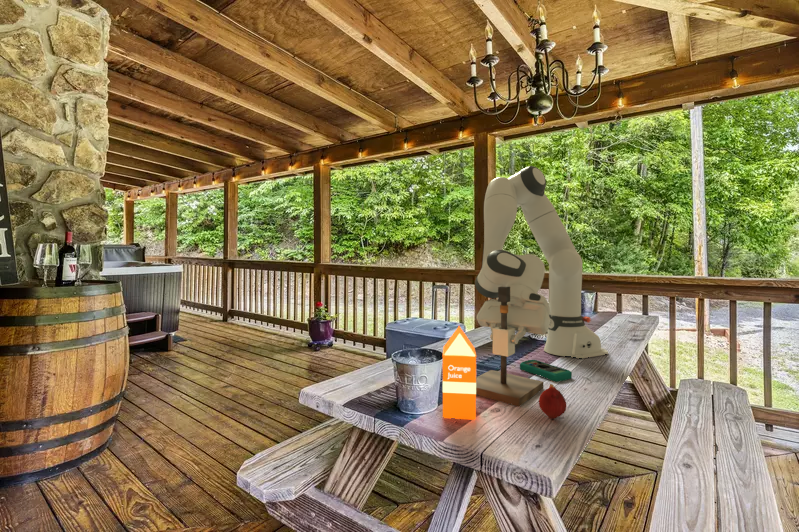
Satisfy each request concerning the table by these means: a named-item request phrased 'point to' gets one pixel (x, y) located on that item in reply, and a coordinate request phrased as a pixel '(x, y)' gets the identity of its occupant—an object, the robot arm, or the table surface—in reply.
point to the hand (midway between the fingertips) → (503, 340)
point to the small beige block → (503, 341)
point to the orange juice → (459, 377)
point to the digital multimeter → (546, 370)
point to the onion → (552, 402)
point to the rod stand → (502, 383)
